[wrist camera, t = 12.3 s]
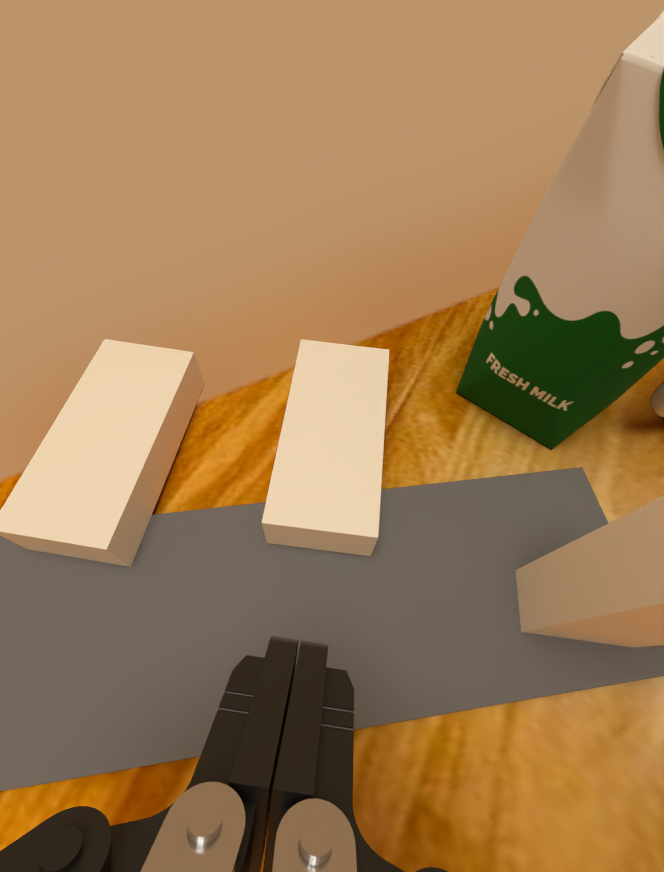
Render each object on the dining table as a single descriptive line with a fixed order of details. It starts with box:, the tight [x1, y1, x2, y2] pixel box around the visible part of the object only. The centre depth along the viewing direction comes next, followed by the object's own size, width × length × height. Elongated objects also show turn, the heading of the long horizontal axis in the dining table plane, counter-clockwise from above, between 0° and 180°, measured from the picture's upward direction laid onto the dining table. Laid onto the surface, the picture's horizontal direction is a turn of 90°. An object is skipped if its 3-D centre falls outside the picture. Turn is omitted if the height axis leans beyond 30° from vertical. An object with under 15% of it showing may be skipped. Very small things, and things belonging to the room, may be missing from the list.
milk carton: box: [456, 11, 664, 450], centre depth 20 cm, size 9×9×20 cm
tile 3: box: [0, 339, 204, 567], centre depth 23 cm, size 6×3×12 cm
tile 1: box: [262, 340, 389, 556], centre depth 24 cm, size 6×3×12 cm
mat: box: [0, 467, 664, 791], centre depth 21 cm, size 33×11×1 cm, turn 98°
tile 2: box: [516, 496, 664, 648], centre depth 16 cm, size 6×3×12 cm, turn 83°
